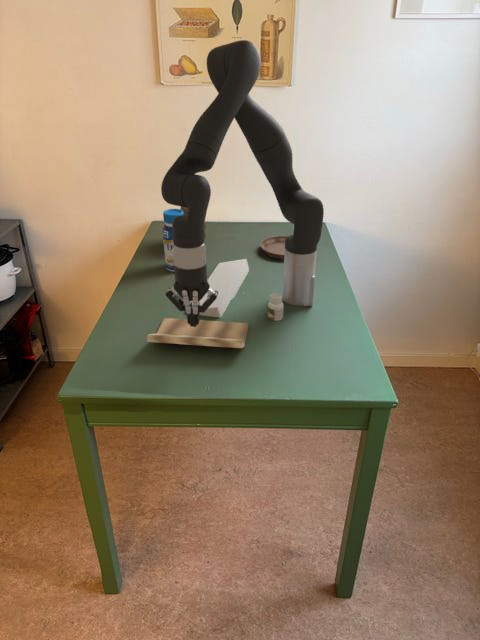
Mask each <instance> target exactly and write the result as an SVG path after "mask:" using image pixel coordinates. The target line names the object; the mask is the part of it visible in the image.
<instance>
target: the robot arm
mask: <svg viewBox="0 0 480 640" xmlns="http://www.w3.org/2000/svg"><path fill="white" fill-rule="evenodd" d="M206 68H207V69H206V70H207V73H208V76H209V79H210V81H211V83H212V85H213V87H214V88H215V90H216V92H217V95H216V97H215V98H214V99H213V101H212V102H211V103H210V104H209V106H207V108H206V109H205V110H204V111H203V113H202V114H201V115H200V116H199V118H198V119H197V121H196V122H195V124H194V126H193V128H192V130H191V132H190V134H189V136H188V139H187V142H186V144H185V146H184V147H185V148H184V150H183V151H182V152H181V154H180V155H179V156H178V157H177V159H176V160H175V161H174V162H173V164H172V165H171V167H170V168H169V169H167V172H166V173H165V175H164V176H163V179H162V181H161V186H160V187H161V189H160V190H161V191H160V192H161V196H162V199H163V200H164V202H166V203H167V204H168V205H172V206H176V207H180V208H181V207H187V208H188V209H189V213H188V214H186V215H180V216H177V217H176V218H175V219H174V220H173V223H172V231H173V262H174V284H173V287H169V288H168V289H167V290H166V293H165V296H166V297H167V299H168V300H169V301H170V302H171V303H172V304H173V305H174V307H176V308H177V309H178V311H180V312H185V313H186V319H187V322H188V324H190V326H191V327H196V326H197V325H198V324H199V321H200V320H201V318H200V316H201V315H200V312H202V313H204V312H205V311H206V310H207V309H208V308H209V306H210V305H211V304H212V303H213V302H214V301H215V300H216V298H217V296H218V291H213V290H212V289H210V286H209V283H208V281H207V280H208V270H207V269H208V267H207V249H206V245H205V244H206V243H205V241H204V223H206V217H207V211H208V207H209V204H210V200H211V196H212V195H211V194H212V191H211V190H212V189H211V185H210V183H209V181H208V179H207V178H206V177H205V176H203V175H200V174H197V173H204V172H208V171H211V169H212V168H213V167H214V165H215V163H216V160H217V158H218V155H219V152H220V150H221V147H222V145H223V142H224V140H225V137H226V136H227V133H228V130H229V129H230V128H231V127H230V126H231V125H232V122H233V121H234V119H235V122H236V123H237V125H238V127H239V128H240V130H241V132H242V135H243V136H244V138H245V139H246V141H247V145H248V146H249V148H250V149H251V152H252V154H253V156H254V158H255V159H256V162H257V163H258V165H259V166H260V168H261V170H262V173H263V174H264V176H265V178H266V179H267V181H268V183H269V185H270V187H271V189H272V191H273V193H274V196H275V198H276V201H277V204H278V208H279V210H280V211H281V214H282V216H283V218H284V219H286V221H288V222H289V223H291V224H292V225H294V226H293V234H290V235H287V236H288V237H287V238H286V240H285V253H284V259H283V279H282V280H283V281H282V302H285V303H287V304H289V305H291V306H303V308H307V307H313V305H314V304H313V303H314V293H315V291H314V290H315V283H316V282H315V280H316V264H317V251H318V250H317V249H318V244H319V242H320V240H321V237H322V231H323V229H322V228H323V222H324V213H325V212H324V205H323V202H322V200H321V199H320V198H318V197H317V196H315V195H313V194H311V193H309V192H306V191H305V190H304V189H303V188H302V186H301V185H300V183H299V181H298V179H297V176H296V175H295V172H294V169H293V151H292V147H291V143H290V142H289V139H288V137H287V135H286V133H285V131H284V128H283V126H282V125H281V124H280V122H279V121H278V120H277V119H276V118H275V117H274V116H273V115H272V114H270V113H269V112H268V111H267V109H265V108H263V107H262V106H261V105H260V104H259V103H258V102H257V101H256V100H254V98H253V97H252V96H251V94H250V93H251V91H252V89H253V87H254V86H255V84H256V82H257V80H258V79H259V76H260V73H261V68H262V59H261V54H260V52H259V49H258V48H257V46H256V45H255V44H254V43H253V42H252V41H249V40H247V39H242V40H237V41H233V42H230V43H229V42H228V43H226V44H221V45H219V46H216V47H214V48H211V50H210V51H209V52H208V54H207V57H206ZM206 293H208V295H207V300H206V301H205V302H204V303H203V304H202V305H200V300H201V299H202V298H203V297H204V295H205V294H206ZM192 301H193V304H192Z"/></svg>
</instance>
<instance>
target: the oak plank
mask: <svg viewBox="0 0 480 640" xmlns="http://www.w3.org/2000/svg"><path fill="white" fill-rule="evenodd" d="M146 341H147V343H158V344H159V343H160V344H174V345H175V344H176V345H177V344H178V345H188V346H189V345H190V346H202V347H203V346H204V347H216V348H217V347H218V348H233V349H243V348H245V344H246V341H245V339H234V338H219V337H204V336H188V335H173V334H158V333H157V332H155V333H150V334H147V338H146Z"/></svg>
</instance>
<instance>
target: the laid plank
mask: <svg viewBox="0 0 480 640" xmlns="http://www.w3.org/2000/svg"><path fill="white" fill-rule="evenodd" d="M249 325H250V323H248V322H234V321H218V320H203V319H200V321H199V324H198V325H197V326H196V327H191V326H190V324H188V322H187V318H170V317H169V318H167V317H164V318H163V319H162V322H161V324H160V326H159V328H158V330H157V331H156V333H158V334H173V335H188V336H204V337H219V338H234V339H245V342H246V340H247V336H248V330H249V327H250V326H249Z"/></svg>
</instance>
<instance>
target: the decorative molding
mask: <svg viewBox="0 0 480 640" xmlns="http://www.w3.org/2000/svg"><path fill="white" fill-rule="evenodd" d="M249 271H250V267H249V263H248V260H247V258H243V259H235V260H231V261H222V262H219V263H218V264H217V265H216V267H215V269H214V270H213V271H212V273H211V274H210V275H209V277H207V281H208V283H209V286H210V289H212V290H213V291H218V296H217V298H216V300H215V301H214V302H213V303H212V304H211V305H210V306H209V308H208V309H207V310H206V311H205V312H204V313H202V312H200V316H204V317H211V318H218V319H219V318H220V319H221V318H222V317H223V315H224V313H225V311H226V309H227V308H228V305H229V304H230V302H232V301H231V300H234V298H235V297H236V295H237V294H238V291H239V289H240V288H241V286H242V284H243V282H244V281H245V279H246V277H247V275H248V274H249ZM207 295H208V293H206V294H205V295H204V297H203V298H202V299H201V300H200V305H202V304H203V303H204V302H205V301H206V300H207ZM192 304H193V301H192Z"/></svg>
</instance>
